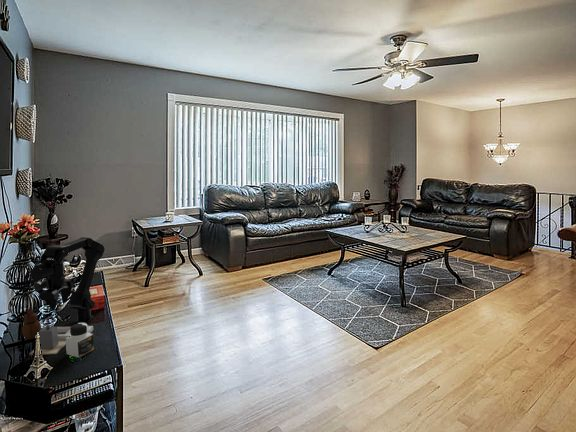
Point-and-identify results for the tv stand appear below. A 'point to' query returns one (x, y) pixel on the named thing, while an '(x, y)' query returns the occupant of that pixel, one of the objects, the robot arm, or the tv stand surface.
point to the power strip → (68, 332)
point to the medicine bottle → (79, 340)
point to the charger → (48, 337)
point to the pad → (52, 351)
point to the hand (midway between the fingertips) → (59, 306)
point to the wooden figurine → (30, 325)
